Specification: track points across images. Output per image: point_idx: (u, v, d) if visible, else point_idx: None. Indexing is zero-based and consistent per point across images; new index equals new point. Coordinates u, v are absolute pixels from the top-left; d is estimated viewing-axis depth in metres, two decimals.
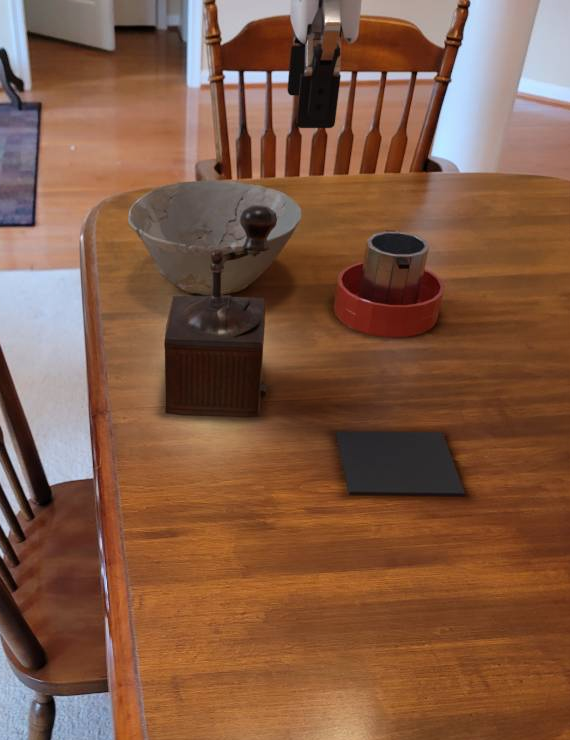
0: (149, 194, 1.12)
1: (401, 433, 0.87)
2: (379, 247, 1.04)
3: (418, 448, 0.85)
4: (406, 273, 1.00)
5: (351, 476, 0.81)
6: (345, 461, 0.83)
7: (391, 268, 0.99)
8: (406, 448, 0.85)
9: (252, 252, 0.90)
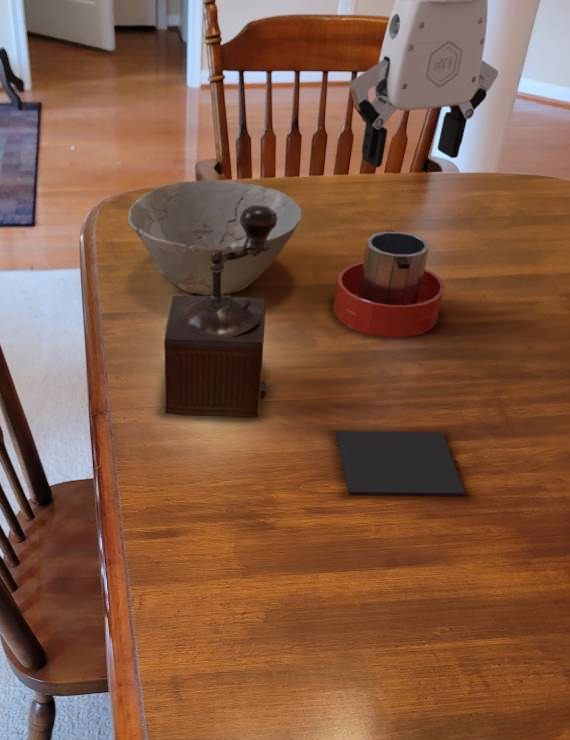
0: (149, 194, 1.12)
1: (401, 433, 0.87)
2: (379, 247, 1.04)
3: (418, 448, 0.85)
4: (406, 273, 1.00)
5: (351, 476, 0.81)
6: (345, 461, 0.83)
7: (391, 268, 0.99)
8: (406, 448, 0.85)
9: (252, 252, 0.90)
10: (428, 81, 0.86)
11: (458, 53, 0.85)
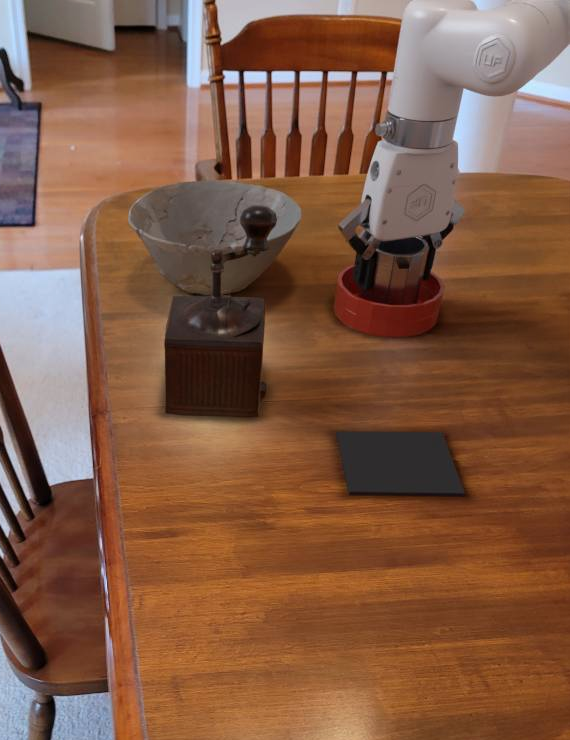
0: (149, 194, 1.12)
1: (401, 433, 0.87)
2: (379, 247, 1.04)
3: (418, 448, 0.85)
4: (406, 273, 1.00)
5: (351, 476, 0.81)
6: (345, 461, 0.83)
7: (391, 268, 0.99)
8: (406, 448, 0.85)
9: (252, 252, 0.90)
10: (406, 217, 0.96)
11: (432, 193, 0.95)
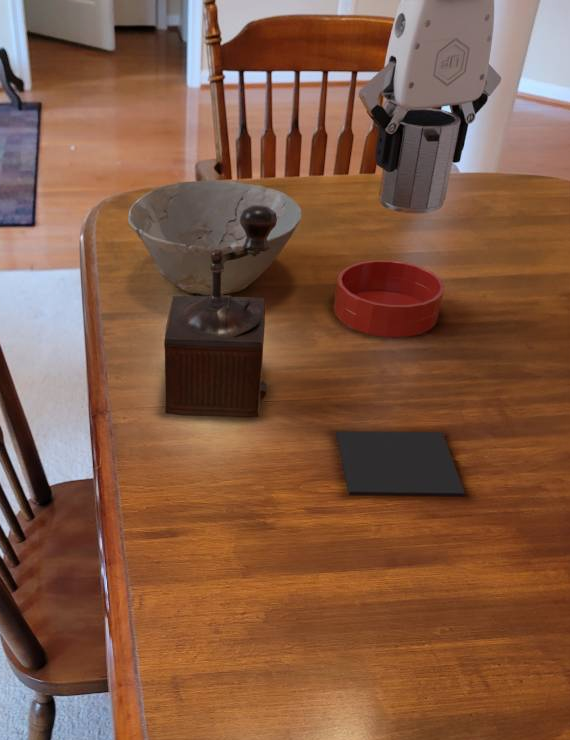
0: (149, 194, 1.12)
1: (401, 433, 0.87)
2: None
3: (418, 448, 0.85)
4: (435, 149, 0.89)
5: (351, 476, 0.81)
6: (345, 461, 0.83)
7: (418, 144, 0.89)
8: (406, 448, 0.85)
9: (252, 252, 0.90)
10: (435, 79, 0.85)
11: (465, 51, 0.84)
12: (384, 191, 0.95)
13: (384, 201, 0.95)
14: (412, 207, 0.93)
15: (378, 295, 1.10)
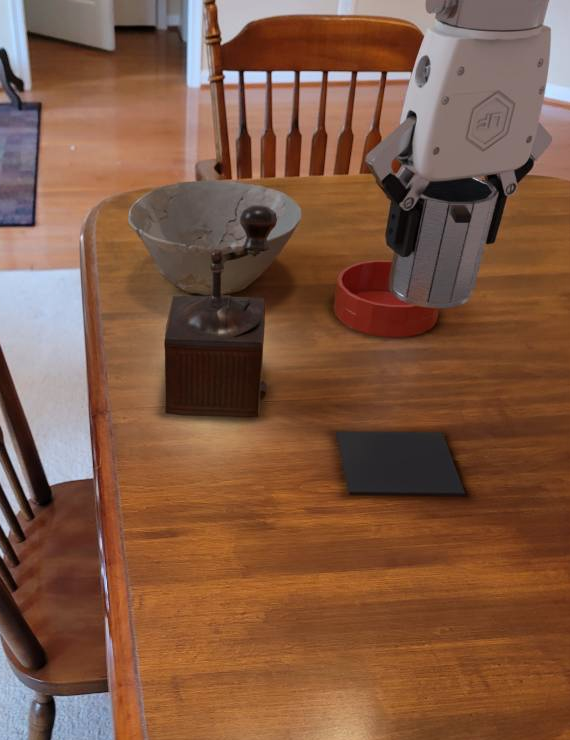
0: (149, 194, 1.12)
1: (401, 433, 0.87)
2: None
3: (418, 448, 0.85)
4: (465, 230, 0.68)
5: (351, 476, 0.81)
6: (345, 461, 0.83)
7: (443, 224, 0.67)
8: (406, 448, 0.85)
9: (252, 252, 0.90)
10: (468, 143, 0.64)
11: (509, 107, 0.63)
12: (396, 278, 0.73)
13: (395, 290, 0.74)
14: (432, 301, 0.72)
15: (378, 295, 1.10)
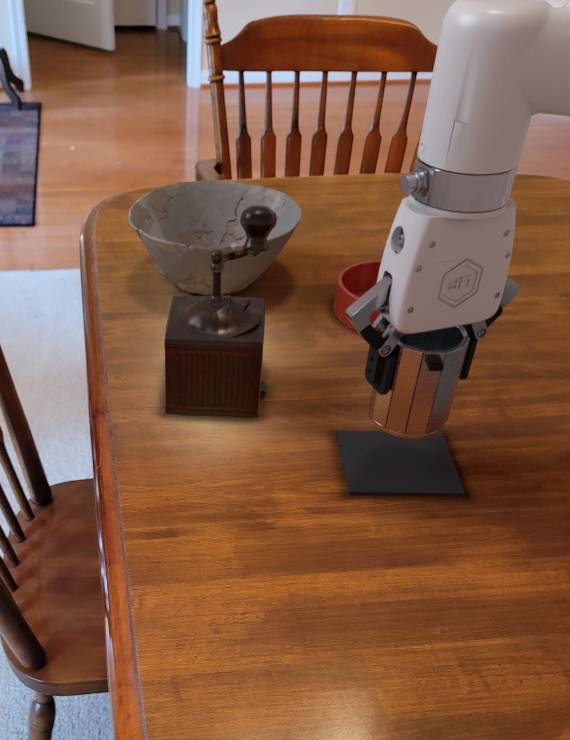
0: (149, 194, 1.12)
1: None
2: None
3: (418, 448, 0.85)
4: (438, 375, 0.73)
5: (351, 476, 0.81)
6: (345, 461, 0.83)
7: (417, 369, 0.72)
8: (406, 448, 0.85)
9: (252, 252, 0.90)
10: (440, 302, 0.68)
11: (478, 270, 0.68)
12: (375, 409, 0.78)
13: (375, 420, 0.78)
14: (409, 433, 0.77)
15: None
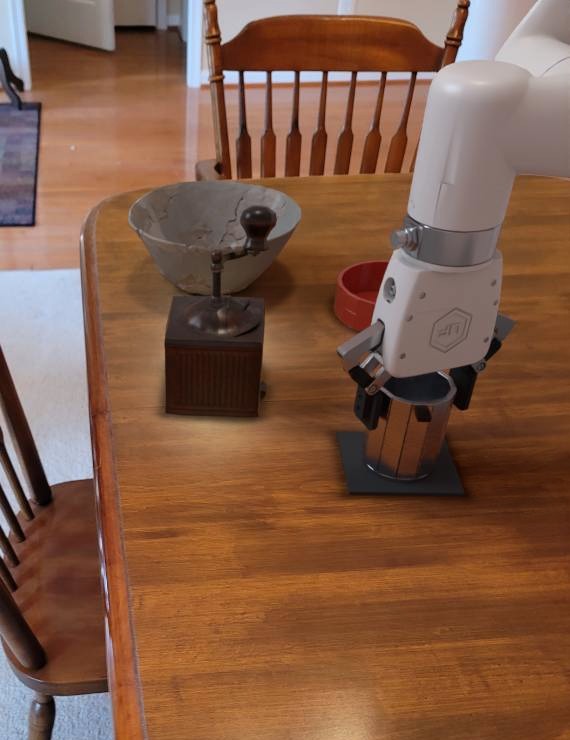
0: (149, 194, 1.12)
1: None
2: (391, 382, 0.80)
3: None
4: (427, 424, 0.76)
5: (351, 476, 0.81)
6: (345, 461, 0.83)
7: (407, 419, 0.76)
8: None
9: (252, 252, 0.90)
10: (431, 348, 0.71)
11: (467, 318, 0.70)
12: (367, 454, 0.81)
13: (367, 464, 0.82)
14: (399, 477, 0.80)
15: None
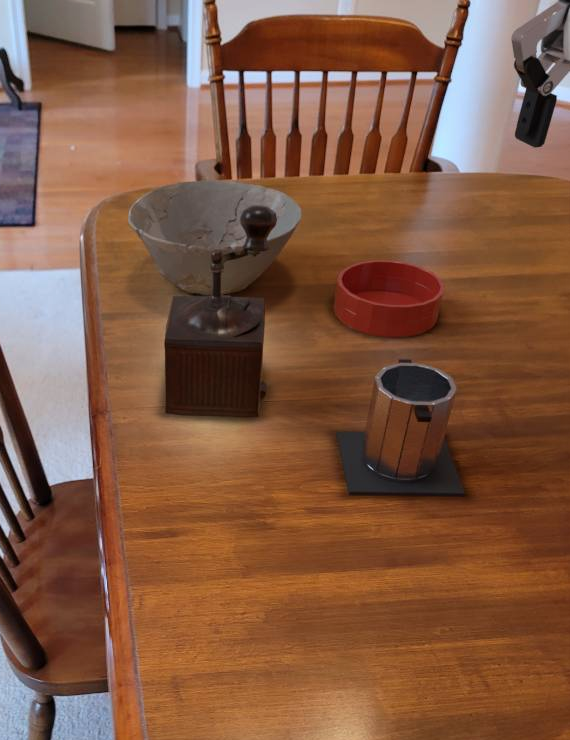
0: (149, 194, 1.12)
1: None
2: (391, 382, 0.80)
3: None
4: (427, 424, 0.76)
5: (351, 476, 0.81)
6: (345, 461, 0.83)
7: (407, 419, 0.76)
8: None
9: (252, 252, 0.90)
10: None
11: None
12: (367, 454, 0.81)
13: (367, 464, 0.82)
14: (399, 477, 0.80)
15: (378, 295, 1.10)
